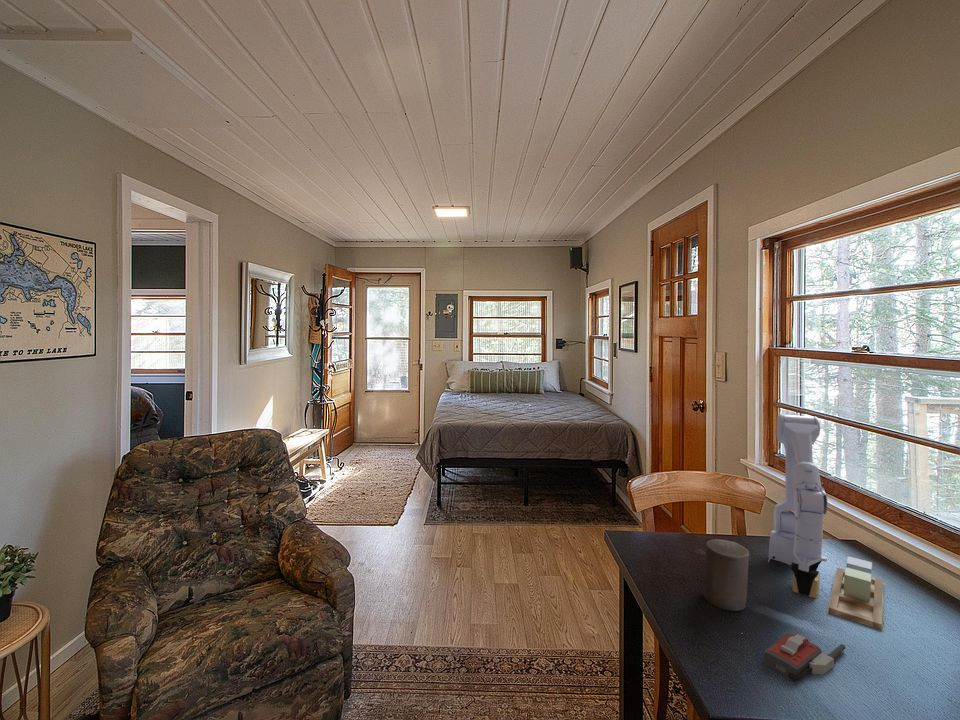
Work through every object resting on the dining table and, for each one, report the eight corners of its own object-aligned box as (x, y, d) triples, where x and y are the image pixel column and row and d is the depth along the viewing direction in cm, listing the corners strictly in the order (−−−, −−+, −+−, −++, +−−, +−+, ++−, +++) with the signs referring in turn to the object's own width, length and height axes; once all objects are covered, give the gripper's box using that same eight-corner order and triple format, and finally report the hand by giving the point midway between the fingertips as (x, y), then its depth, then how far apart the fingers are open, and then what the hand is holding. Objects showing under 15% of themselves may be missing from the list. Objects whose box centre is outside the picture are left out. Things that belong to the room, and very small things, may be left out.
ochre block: (792, 596, 118) (793, 574, 118) (795, 589, 122) (796, 567, 121) (816, 604, 115) (817, 581, 114) (818, 596, 118) (819, 573, 118)
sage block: (843, 597, 115) (844, 574, 115) (844, 589, 119) (845, 567, 118) (869, 605, 112) (870, 581, 111) (870, 597, 115) (871, 573, 115)
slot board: (826, 617, 109) (827, 607, 109) (835, 576, 128) (836, 567, 128) (882, 636, 102) (883, 624, 102) (883, 590, 121) (883, 580, 121)
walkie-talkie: (806, 694, 86) (849, 655, 97) (807, 671, 86) (850, 635, 97) (757, 665, 93) (802, 632, 104) (758, 644, 93) (803, 613, 104)
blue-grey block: (845, 585, 121) (846, 562, 121) (846, 577, 125) (847, 556, 124) (870, 592, 118) (871, 569, 117) (870, 584, 121) (872, 562, 121)
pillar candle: (698, 600, 116) (700, 542, 115) (710, 584, 123) (712, 530, 122) (740, 616, 109) (744, 556, 108) (751, 599, 116) (754, 542, 115)
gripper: (825, 550, 109) (822, 606, 110) (830, 532, 120) (827, 582, 121) (789, 541, 114) (787, 594, 115) (798, 524, 125) (795, 573, 125)
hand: (805, 587), depth 118 cm, fingers open, 7 cm apart
